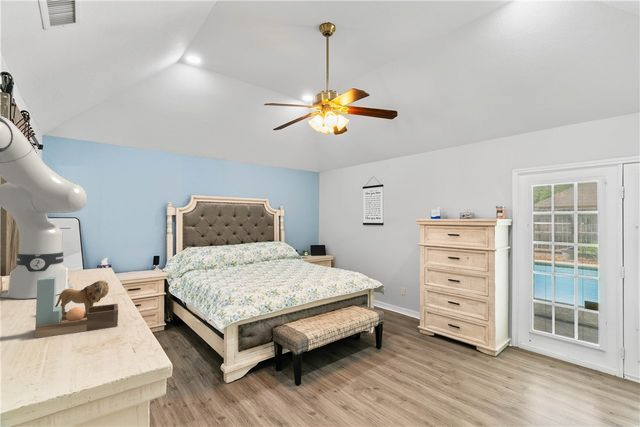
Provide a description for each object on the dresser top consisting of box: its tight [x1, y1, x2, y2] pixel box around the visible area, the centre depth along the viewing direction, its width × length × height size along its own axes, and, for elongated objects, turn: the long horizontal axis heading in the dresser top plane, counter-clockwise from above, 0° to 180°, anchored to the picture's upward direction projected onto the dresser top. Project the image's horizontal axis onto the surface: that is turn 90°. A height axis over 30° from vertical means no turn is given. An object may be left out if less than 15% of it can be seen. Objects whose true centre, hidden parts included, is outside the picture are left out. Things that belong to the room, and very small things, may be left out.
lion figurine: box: [55, 280, 110, 316], centre depth 87 cm, size 15×5×9 cm, turn 103°
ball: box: [65, 307, 85, 322], centre depth 75 cm, size 4×4×4 cm
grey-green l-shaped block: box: [34, 277, 63, 329], centre depth 73 cm, size 4×4×11 cm
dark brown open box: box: [86, 303, 119, 332], centre depth 78 cm, size 7×6×4 cm
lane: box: [34, 312, 88, 339], centre depth 74 cm, size 7×9×2 cm
